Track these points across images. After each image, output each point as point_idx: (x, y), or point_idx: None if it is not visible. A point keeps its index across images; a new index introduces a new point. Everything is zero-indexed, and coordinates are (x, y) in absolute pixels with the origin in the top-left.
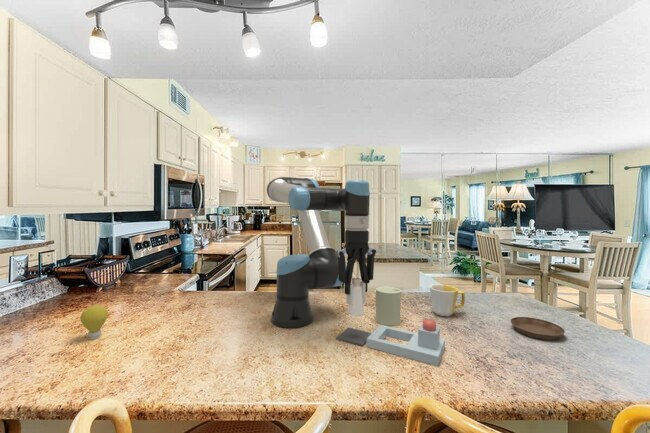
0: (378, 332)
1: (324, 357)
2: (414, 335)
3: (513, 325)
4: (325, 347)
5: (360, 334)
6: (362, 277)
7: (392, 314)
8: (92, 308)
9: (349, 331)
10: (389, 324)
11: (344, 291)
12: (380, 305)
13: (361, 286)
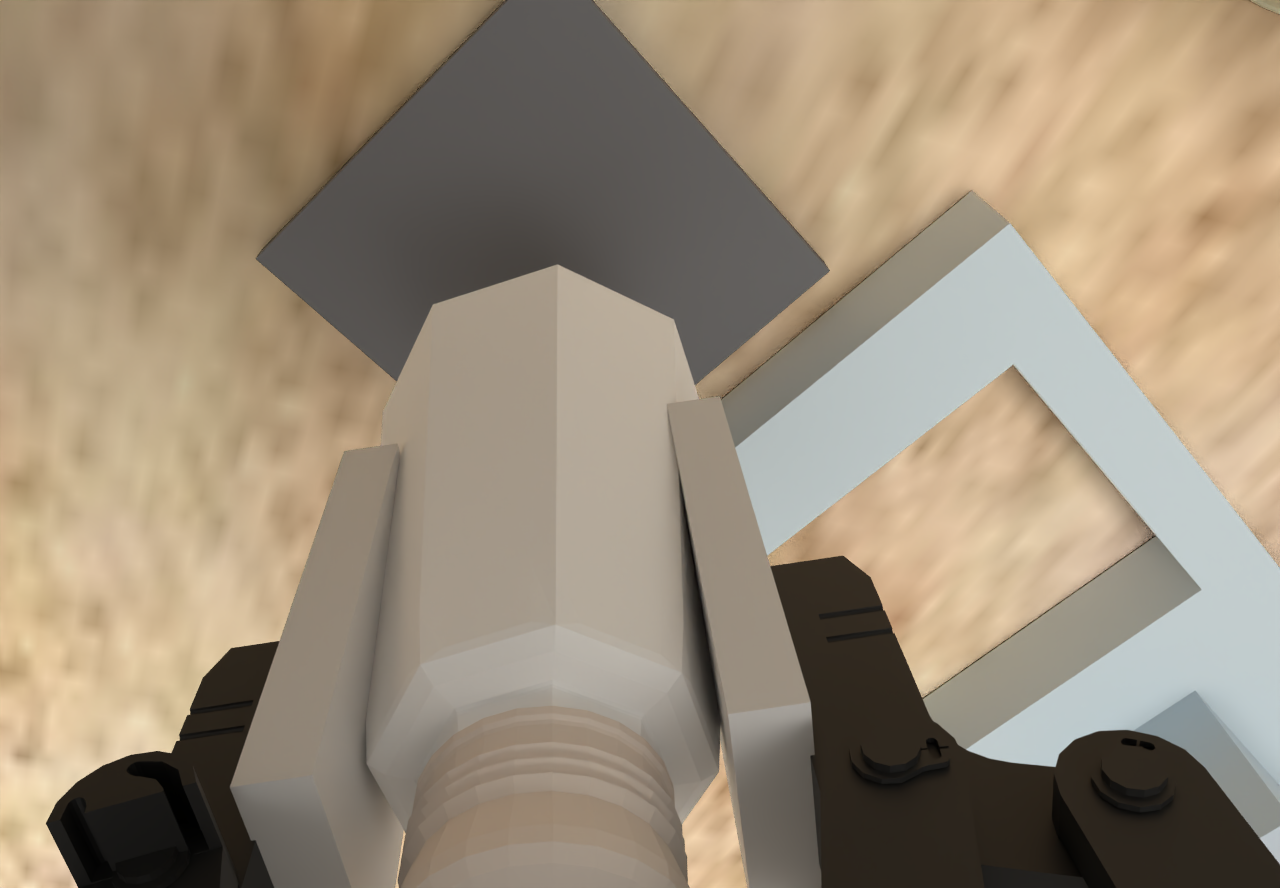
0: (823, 455)
1: (53, 606)
2: (1187, 614)
3: None
4: (85, 417)
5: (633, 255)
6: (867, 861)
7: None
8: None
9: (512, 116)
10: (1268, 4)
11: (198, 691)
12: None
13: (708, 781)
